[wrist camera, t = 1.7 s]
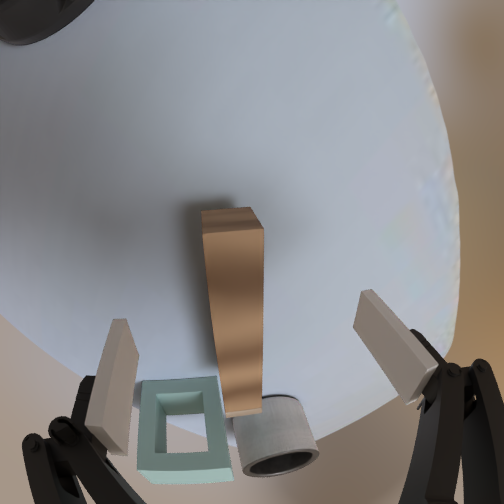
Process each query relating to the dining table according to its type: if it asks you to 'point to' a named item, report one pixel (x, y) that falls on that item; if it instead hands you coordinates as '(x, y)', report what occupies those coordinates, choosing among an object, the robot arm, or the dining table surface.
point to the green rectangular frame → (154, 432)
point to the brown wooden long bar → (236, 303)
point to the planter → (275, 438)
